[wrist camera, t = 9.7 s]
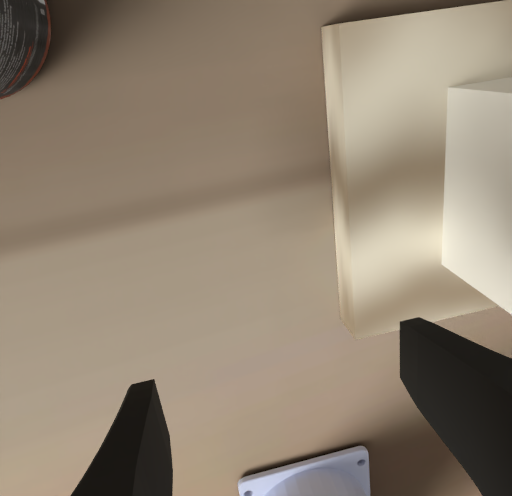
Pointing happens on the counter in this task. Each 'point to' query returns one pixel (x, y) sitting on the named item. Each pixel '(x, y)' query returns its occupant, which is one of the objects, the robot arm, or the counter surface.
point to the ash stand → (401, 156)
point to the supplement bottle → (22, 42)
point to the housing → (479, 188)
